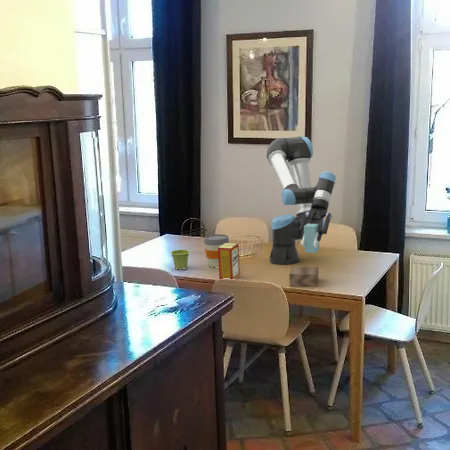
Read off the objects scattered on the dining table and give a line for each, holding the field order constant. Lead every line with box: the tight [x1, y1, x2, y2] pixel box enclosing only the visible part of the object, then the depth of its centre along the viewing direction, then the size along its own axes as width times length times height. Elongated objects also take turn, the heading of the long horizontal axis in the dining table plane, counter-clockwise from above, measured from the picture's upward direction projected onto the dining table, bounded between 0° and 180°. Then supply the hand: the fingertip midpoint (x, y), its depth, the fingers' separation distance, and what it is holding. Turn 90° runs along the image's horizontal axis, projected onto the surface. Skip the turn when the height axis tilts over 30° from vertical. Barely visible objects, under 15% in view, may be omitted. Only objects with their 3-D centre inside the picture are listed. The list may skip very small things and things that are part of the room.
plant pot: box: [170, 249, 190, 270], centre depth 321 cm, size 9×9×9 cm
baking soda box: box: [218, 242, 241, 279], centre depth 300 cm, size 10×6×16 cm
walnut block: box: [289, 266, 319, 288], centre depth 288 cm, size 12×12×6 cm
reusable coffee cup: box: [203, 233, 230, 268], centre depth 322 cm, size 12×13×15 cm
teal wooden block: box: [304, 224, 320, 254], centre depth 284 cm, size 5×5×12 cm
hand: (308, 246), depth 282 cm, fingers closed on teal wooden block, 5 cm apart
